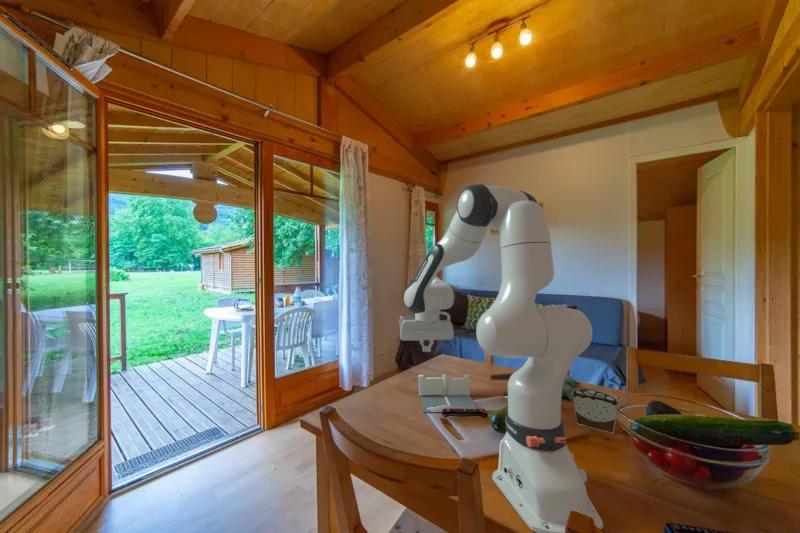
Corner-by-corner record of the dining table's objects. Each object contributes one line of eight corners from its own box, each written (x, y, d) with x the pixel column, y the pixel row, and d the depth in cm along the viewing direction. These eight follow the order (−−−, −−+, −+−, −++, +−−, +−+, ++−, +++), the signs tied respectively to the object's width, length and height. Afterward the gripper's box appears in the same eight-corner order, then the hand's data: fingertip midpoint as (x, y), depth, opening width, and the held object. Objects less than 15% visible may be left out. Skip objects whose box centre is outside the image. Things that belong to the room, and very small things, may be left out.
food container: (620, 425, 93) (620, 392, 93) (620, 435, 88) (620, 400, 88) (572, 414, 100) (572, 383, 100) (570, 423, 95) (570, 390, 95)
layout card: (478, 411, 103) (478, 409, 103) (423, 413, 102) (423, 411, 102) (463, 387, 123) (463, 385, 123) (418, 388, 122) (418, 386, 122)
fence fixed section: (468, 393, 116) (468, 374, 116) (469, 395, 114) (469, 376, 114) (447, 394, 115) (447, 375, 115) (448, 395, 114) (448, 376, 114)
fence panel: (446, 393, 116) (446, 373, 115) (447, 395, 114) (447, 375, 114) (418, 393, 115) (418, 374, 115) (419, 396, 113) (419, 376, 113)
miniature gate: (487, 367, 136) (557, 361, 135) (488, 379, 136) (558, 374, 135) (507, 393, 109) (594, 387, 108) (508, 409, 109) (596, 402, 108)
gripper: (399, 317, 114) (399, 354, 115) (454, 316, 115) (454, 353, 116) (398, 313, 121) (398, 349, 121) (451, 313, 121) (451, 348, 122)
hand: (426, 351), depth 118 cm, fingers closed
